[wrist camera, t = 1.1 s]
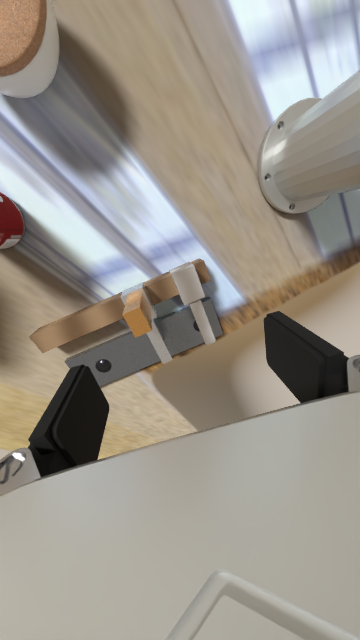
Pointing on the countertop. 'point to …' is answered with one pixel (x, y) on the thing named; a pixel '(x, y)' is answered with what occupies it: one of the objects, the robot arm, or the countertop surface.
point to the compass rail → (111, 309)
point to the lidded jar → (27, 47)
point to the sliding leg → (144, 318)
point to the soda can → (10, 223)
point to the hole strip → (144, 345)
